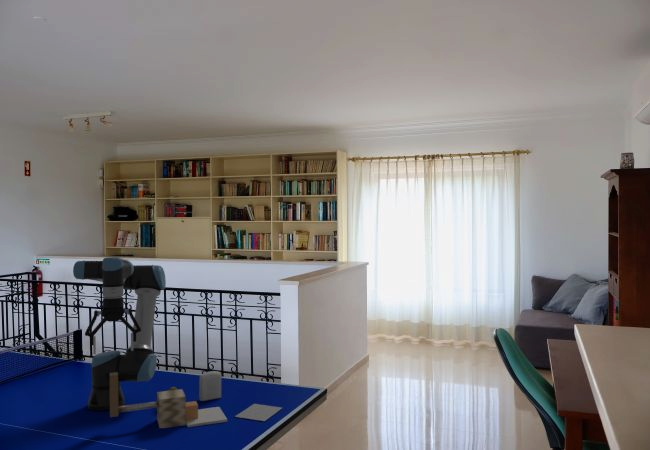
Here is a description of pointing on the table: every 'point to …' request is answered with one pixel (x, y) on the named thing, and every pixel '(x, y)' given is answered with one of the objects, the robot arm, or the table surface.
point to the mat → (207, 417)
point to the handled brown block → (116, 409)
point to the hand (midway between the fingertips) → (113, 351)
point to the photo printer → (210, 385)
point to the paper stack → (258, 412)
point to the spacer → (191, 410)
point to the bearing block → (171, 408)
